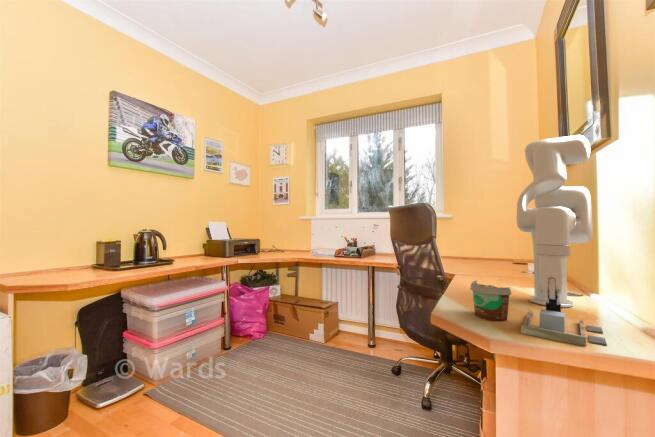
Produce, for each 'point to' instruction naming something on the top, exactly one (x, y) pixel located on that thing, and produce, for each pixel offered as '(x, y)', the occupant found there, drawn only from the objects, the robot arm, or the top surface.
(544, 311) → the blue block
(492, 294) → the food container
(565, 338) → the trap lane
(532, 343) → the top surface
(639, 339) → the top surface
